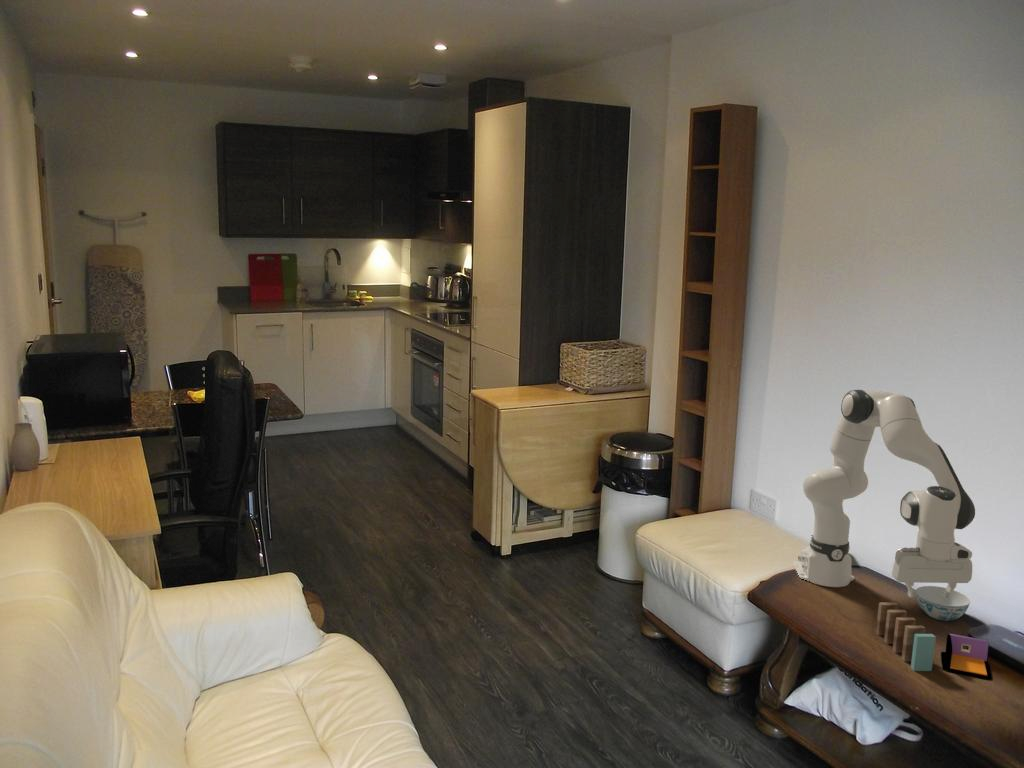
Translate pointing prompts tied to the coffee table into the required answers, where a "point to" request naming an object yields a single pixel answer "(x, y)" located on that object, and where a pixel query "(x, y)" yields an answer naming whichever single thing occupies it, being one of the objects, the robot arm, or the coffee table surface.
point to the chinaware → (941, 603)
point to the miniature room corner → (966, 657)
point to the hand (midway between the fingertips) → (928, 596)
